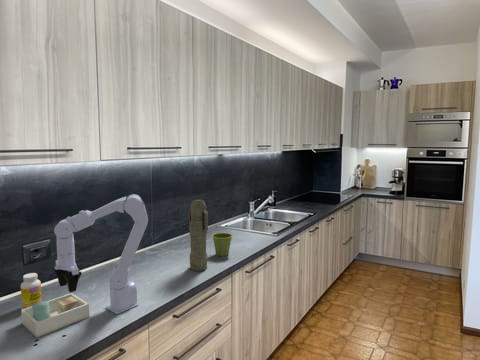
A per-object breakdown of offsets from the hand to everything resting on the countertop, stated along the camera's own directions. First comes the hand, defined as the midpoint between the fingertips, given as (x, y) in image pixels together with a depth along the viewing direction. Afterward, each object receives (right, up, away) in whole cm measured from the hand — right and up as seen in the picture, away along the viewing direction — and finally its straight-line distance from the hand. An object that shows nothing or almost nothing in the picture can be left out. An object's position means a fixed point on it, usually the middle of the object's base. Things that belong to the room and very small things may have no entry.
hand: (67, 288), depth 125 cm
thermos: (+43, -5, +47) cm, 64 cm away
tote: (-2, -10, -3) cm, 11 cm away
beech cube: (0, -9, 0) cm, 9 cm away
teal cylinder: (-5, -10, -7) cm, 13 cm away
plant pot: (+53, -3, +68) cm, 87 cm away
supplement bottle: (-17, -9, +6) cm, 20 cm away
